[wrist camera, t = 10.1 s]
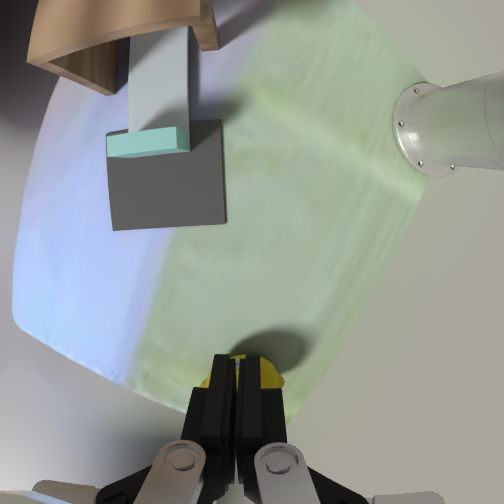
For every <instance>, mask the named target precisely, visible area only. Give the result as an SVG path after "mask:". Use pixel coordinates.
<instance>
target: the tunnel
mask: <svg viewBox="0 0 504 504" xmlns="http://www.w3.org/2000/svg"><path fill="white" fill-rule="evenodd" d="M184 26H192V28H193V31H194V33H195V36H196V38H197V41H198V43H199V46H200V49H201V51H212V50H219V41H218V32H217V27H216V22H215V17H214V13H213V8H212V3H211V0H39V3H38V6H37V11H36V15H35V19H34V24H33V28H32V33H31V38H30V44H29V50H28V56H27V63H30V64H33V65H35V66H38V67H40V68H43V69H45V70H48V71H51V72H53V73H55V74H58V75H60V76H62V77H65V78H67V79H70V80H72V81H74V82H77V83H79V84H81V85H83V86H86V87H88V88H90V89H92V90H95V91H97V92H99V93H101V94H104V95H106V96H109V95H114V94H115V90H116V65H117V49H118V39H120V38H125V37H129V36H133V35H138V34H143V33H148V32H153V31H158V30H164V29H170V28H177V27H184Z"/></svg>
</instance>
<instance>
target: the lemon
mask: <svg viewBox="0 0 504 504" xmlns="http://www.w3.org/2000/svg"><path fill="white" fill-rule="evenodd" d="M246 355H249V354H245V355H237V356H233V357H230V358H235V360H236V378H237V390H238V376H239V362H240V358H245V356H246ZM260 367H261V388H282V387H283V386H284V382H285V381H284V379H283V377H281V376H280V375H279V373H278V372H277V371H276V369H275V366H274V365H273V364H272V363H271V362H270V361H268V360H267V359H265V358H263V357H260ZM210 376H211V372H210V374H209V375H208V377H207V378H206V379H205V380H204V381H203V382H202V384H201V385H200V387H204V388H208V386H209V381H210Z"/></svg>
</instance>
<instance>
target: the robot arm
mask: <svg viewBox="0 0 504 504" xmlns="http://www.w3.org/2000/svg"><path fill="white" fill-rule="evenodd" d="M398 123H399V124H400V126H399V124H398ZM393 130H394V135H395V139H396V142H397V145H398V147H399V149H400V151H401V153H402V154H403V156H404V157H405V159H406V160H407V161H408V162H409V163H410V164H411V165H412V166H413V167H414V168H415V169H416V170H418V171H419V172H421V173H423V174H425V175H428V176H434V177H444V176H448V175H450V174H453V173H454V172H455V171H457V170H458V169H459V167H460V166H461V167H472V168H484V169H493V170H502V171H504V71H502V72H498V73H494V74H490V75H487V76H483V77H479V78H475V79H472V80H469V81H465V82H462V83H458V84H455V85H452V86H448V87H445V88H441V87H439V86H437V85H434V84H430V83H419V84H416V85H413V86H411V87H409V88H407V89H406V90H405V91H404V92H403V93H402V94H401V95H400V96H399V98H398V100H397V102H396V104H395V107H394V112H393ZM418 163H419V164H418ZM236 460H237V470H238V481H239V484H243V485H244V495H245V496H246V497H248V498H249V499H250V500H251V501H253V502H254V503H255V504H445V502H444V499H443V498H442V497H441V496H440V495H439V494H438V493H435V492H428V491H426V492H418V493H409V494H408V493H407V494H394V495H375V496H374V497H373V498H364V497H363V496H361V495H360V494H357V493H355V492H353V491H351V490H350V489H348V488H346V487H344V486H342V485H340V484H338V483H336V482H334V481H332V480H331V479H329V478H327V477H325V476H323V475H322V474H320V473H318V472H316V471H315V470H313V469H311V468H310V467H308V466H307V465H306V462H305V459H304V456H303V455H302V453H301V451H300V450H299V449H298V448H296V447H295V446H293V445H291V444H288V443H287V435H286V425H285V416H284V406H283V397H282V389H281V388H261V367H260V354H249V355H246V356H245V358H240V362H239V376H238V390H237V378H236V360H235V358H230V355H229V354H215V355H214V360H213V365H212V371H211V376H210V381H209V386H208V388H204V387H194V388H193V390H192V394H191V398H190V402H189V406H188V410H187V414H186V418H185V422H184V427H183V431H182V435H181V439H180V440H176V441H173V442H170V443H168V444H166V445H165V446H163V448H162V449H161V450H160V452H159V454H158V456H157V458H156V460H155V462H154V464H153V465H151V466H149V467H147V468H145V469H143V470H141V471H138V472H136V473H134V474H132V475H130V476H128V477H125V478H124V479H121V480H119V481H116V482H114V483H112V484H110V485H107V486H106V487H104V488H102V489H98V488H96V487H95V486H89V485H80V484H72V483H65V482H58V481H52V480H42V481H40V482H37V483H36V484H35V485H34V487H33V489H32V491H28V490H21V489H3V490H0V504H216V500H217V499H219V498H220V497H222V496H223V495H225V491H228V484H234V479H235V478H234V477H235V462H236Z"/></svg>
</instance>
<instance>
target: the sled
mask: <svg viewBox="0 0 504 504" xmlns="http://www.w3.org/2000/svg"><path fill="white" fill-rule="evenodd" d="M188 37H189V26H184V27H177V28H170V29H164V30H158V31H153V32H148V33H143V34H138V35H133V36H131V38H130V53H129V75H128V133H125V134H119V135H113V136H107V157H123V158H135V157H143V156H152V155H160V154H170V153H180V152H190V133H189V93H188Z"/></svg>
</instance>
